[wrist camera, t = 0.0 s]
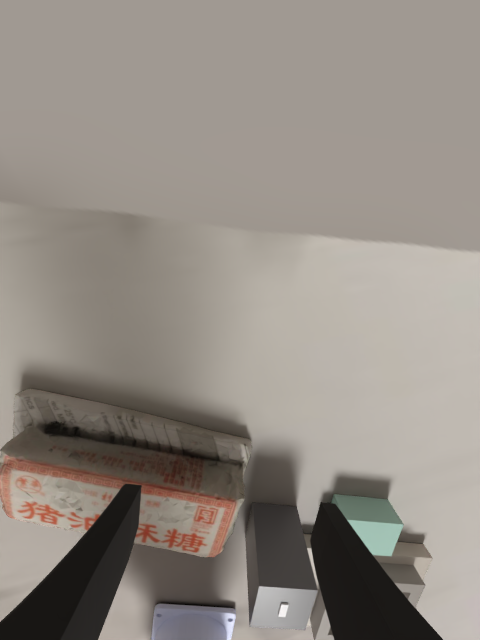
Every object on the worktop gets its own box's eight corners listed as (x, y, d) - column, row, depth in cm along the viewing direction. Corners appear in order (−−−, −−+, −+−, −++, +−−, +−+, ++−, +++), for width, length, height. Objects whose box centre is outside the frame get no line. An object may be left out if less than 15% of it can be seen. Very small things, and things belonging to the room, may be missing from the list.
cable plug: (375, 526, 25) (391, 556, 22) (315, 521, 24) (324, 551, 22) (386, 496, 24) (403, 524, 21) (324, 491, 23) (334, 518, 21)
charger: (287, 540, 24) (305, 632, 18) (245, 536, 24) (249, 628, 18) (296, 506, 23) (318, 592, 18) (252, 502, 23) (259, 587, 17)
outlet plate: (392, 615, 27) (409, 654, 25) (280, 608, 27) (285, 647, 24) (423, 544, 25) (445, 578, 22) (300, 533, 24) (309, 567, 22)
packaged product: (259, 483, 17) (220, 587, 20) (253, 433, 22) (222, 522, 24) (-32, 422, 15) (-37, 544, 18) (29, 382, 20) (19, 483, 22)
